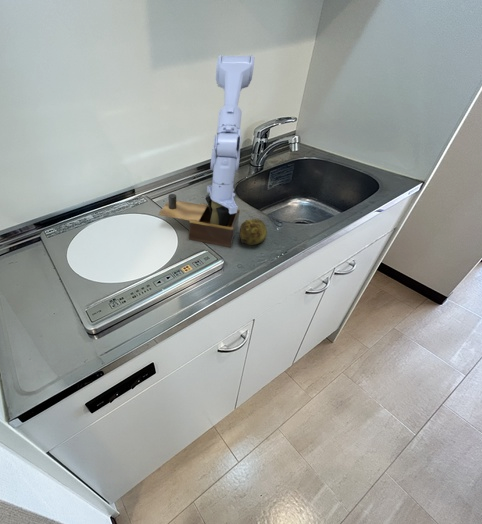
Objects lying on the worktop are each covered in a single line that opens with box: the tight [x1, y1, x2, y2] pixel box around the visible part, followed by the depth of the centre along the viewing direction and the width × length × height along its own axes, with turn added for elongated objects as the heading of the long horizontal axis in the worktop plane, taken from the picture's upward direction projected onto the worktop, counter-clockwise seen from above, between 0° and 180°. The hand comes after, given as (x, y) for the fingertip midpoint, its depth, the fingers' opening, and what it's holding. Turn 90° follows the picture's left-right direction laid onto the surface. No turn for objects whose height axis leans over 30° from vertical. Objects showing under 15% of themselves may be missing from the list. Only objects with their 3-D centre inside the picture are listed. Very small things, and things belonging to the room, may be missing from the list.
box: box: [188, 203, 241, 248], centre depth 85 cm, size 11×13×6 cm
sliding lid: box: [158, 193, 208, 222], centre depth 84 cm, size 9×13×5 cm
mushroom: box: [209, 200, 223, 225], centre depth 82 cm, size 6×6×11 cm
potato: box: [239, 218, 268, 246], centre depth 81 cm, size 8×13×8 cm, turn 132°
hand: (218, 223), depth 84 cm, fingers closed on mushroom, 5 cm apart
